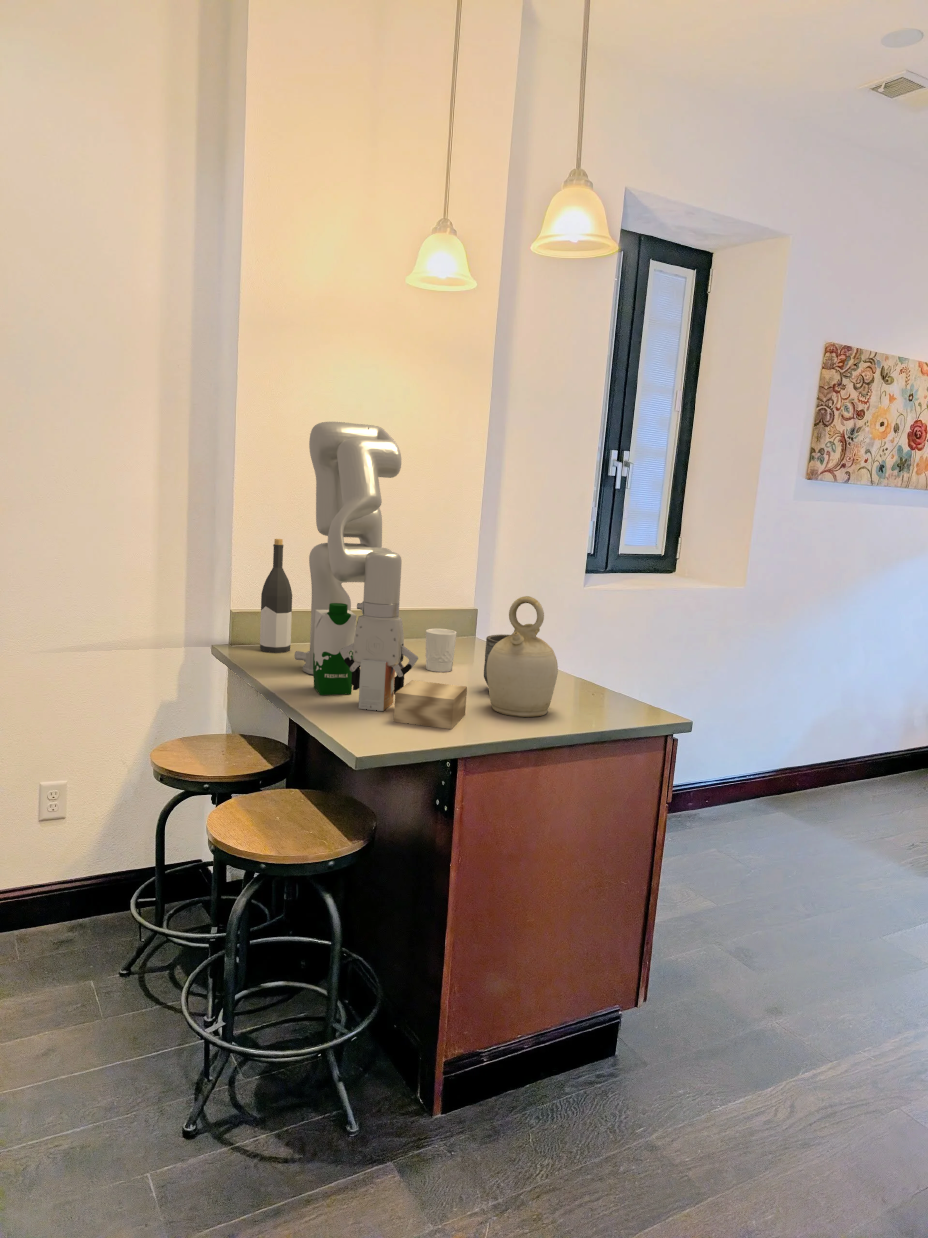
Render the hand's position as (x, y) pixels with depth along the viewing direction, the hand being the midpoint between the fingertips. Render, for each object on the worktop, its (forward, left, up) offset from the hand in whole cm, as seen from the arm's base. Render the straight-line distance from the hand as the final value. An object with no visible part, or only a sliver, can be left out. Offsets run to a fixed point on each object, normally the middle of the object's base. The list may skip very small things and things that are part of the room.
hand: (377, 691), depth 187 cm
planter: (+24, +26, -4) cm, 36 cm away
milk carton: (-13, +8, -4) cm, 16 cm away
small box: (0, 0, -4) cm, 4 cm away
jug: (+29, +11, -4) cm, 31 cm away
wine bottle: (-43, +43, -4) cm, 61 cm away
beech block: (+13, -4, -3) cm, 14 cm away
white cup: (+3, +42, -4) cm, 42 cm away
